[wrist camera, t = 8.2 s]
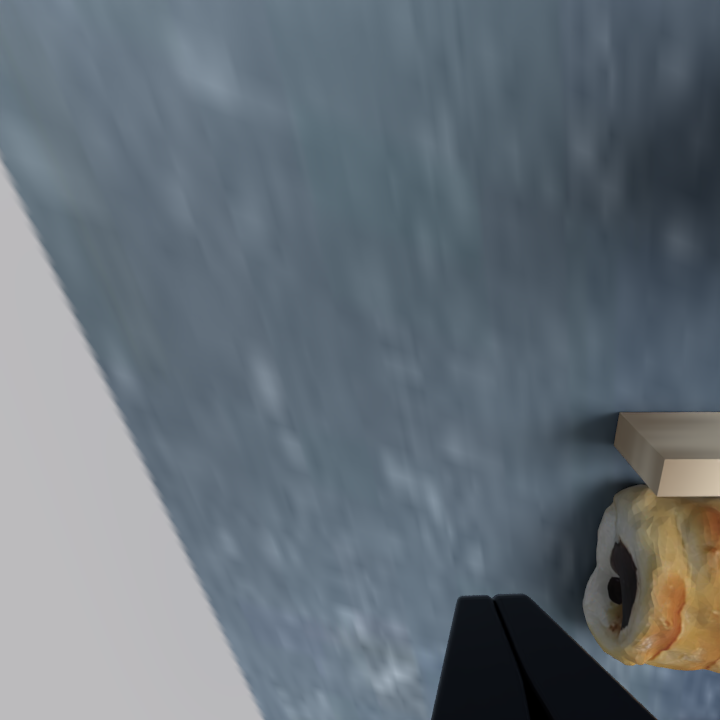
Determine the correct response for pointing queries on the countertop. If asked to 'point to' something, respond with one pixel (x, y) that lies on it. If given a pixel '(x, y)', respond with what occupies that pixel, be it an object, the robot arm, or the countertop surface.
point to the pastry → (657, 581)
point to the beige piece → (672, 451)
